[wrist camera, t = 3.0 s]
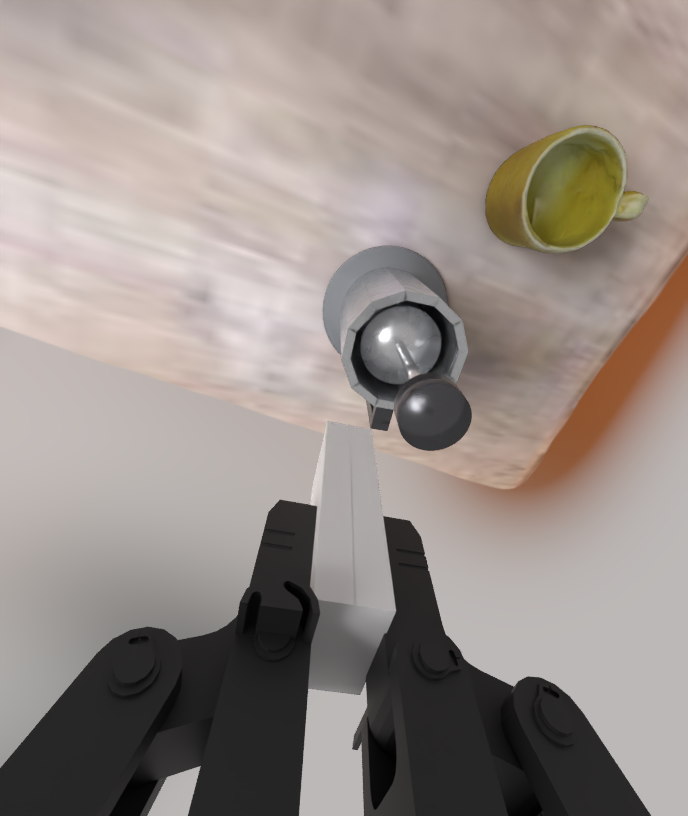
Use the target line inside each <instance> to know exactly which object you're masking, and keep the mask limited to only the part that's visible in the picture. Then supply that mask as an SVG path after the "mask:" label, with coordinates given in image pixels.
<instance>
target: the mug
mask: <svg viewBox="0 0 688 816" xmlns="http://www.w3.org/2000/svg"><path fill="white" fill-rule="evenodd" d="M626 182H627V161H626V155H625V151H624V149H623V147H622V145H621V144H620V142H619V141H618V139H617V138H616V137H615V136H613V135H612V134H611V133H610V132H609V131H607V130H605V129H603V128H600V127H597V126H591V125H583V126H577V127H573V128H570V129H567V130H564V131H561V132H558V133H555V134H552V135H550V136H547V137H545V138H543V139H541V140H539V141H537V142H535V143H533V144H531V145H529V146H527V147H525V148H523V149H521V150H519V151H518V152H516V153H515V154H513V155H512V156H511V157H510V158H508V159H507V160H506V161H505V162H504V163H503V164H502V165H501V166H500V168H499V169H498V170H497V172H496V173H495V175H494V177H493V179H492V181H491V183H490V185H489V188H488V191H487V195H486V218H487V222H488V224H489V226H490V229H491V230H492V231H493V233H494V234H495V235H496V236H497V237H498V238H499V239H501V240H502V241H504V242H506V243H508V244H511V245H514V246H521V247H527V248H531V249H534V250H537V251H540V252H545V253H567V252H571V251H575V250H577V249H580V248H582V247H584V246H585V245H587V244H589V243H590V242H592V241H594V240H595V239H596V238H597V237H599V236H600V235H601V234H602V233H603V232H604V230H605V229H606V228H607V227H608V225H609V224H610V222H611V221H629V220H632V219H635V218H637V217H638V216H639V215H640V214H641V212H642V210H643V209H644V206H645V205H646V203H647V201H648V196H646V195H644V194H642V193H639V192H635V191H627V192H624V188H625V185H626Z"/></svg>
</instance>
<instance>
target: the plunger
mask: <svg viewBox="0 0 688 816" xmlns="http://www.w3.org/2000/svg"><path fill="white" fill-rule="evenodd" d="M440 348H441V337H440V332H439V329H438V327H437V325H436V323H435V322H434V321H433V319H432V318H431V317H430V316H429V315H428V314H427V313H426V312H424V311H423V310H421V309H419V308H417V307H415V306H411V305H393V306H390V307H387V308H385V309H383V310H381V311H379V312H378V313H376V314H375V315H374V316H373V317H372V318H371V319H370V320H369V321H368V323H367V324H366V326H365V328H364V330H363V332H362V335H361V340H360V350H361V356H362V360H363V362H364V364H365V366H366V368H367V369H368V370H369V372H370V373H371V374H372V375H373V376H375V377H376V378H378V379H380V380H381V381H384V382H387V383H392V384H403V385H402V386H401V388H400V389H399V390H398V392H397V394H396V397H395V400H394V411H395V415H396V419H397V422H398V426H399V429H400V432H401V435H402V436H403V438H404V439H405V440H406V441H407V442H408V443H409V444H410V445H412V446H414V447H416V448H418V449H421V450H428V451H434V450H440V449H444V448H447V447H449V446H451V445H453V444H455V443H456V442H457V441H459V440H460V439H461V438H462V437H463V436H464V435H465V433H466V432H467V430H468V428H469V426H470V423H471V418H472V413H471V408H470V405H469V403H468V401H467V400H466V398H465V397H464V395H463V394H462V392H461V391H460V389H459V388H458V387H457V385H456V384H455V383H454V381H453V380H451V379H450V378H448V377H447V376H445V375H442V374H438V373H427V372H428V371H429V370H430V369H431V368H432V367H433V365H434V364H435V362H436V360H437V358H438V356H439V353H440Z"/></svg>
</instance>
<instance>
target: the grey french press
mask: <svg viewBox="0 0 688 816" xmlns="http://www.w3.org/2000/svg"><path fill="white" fill-rule="evenodd" d="M393 305H411V306H415V307H417V308H419V309H421V310H423V311H424V312H426V313H427V314H428V315H429V316H430V317H431V318H432V319H433V321H434V322H435V323H436V325H437V327H438V329H439V332H440V337H441V348H440V353H439V356H438V358H437V360H436V362H435V364H434V365H433V367H432V368H431V369H430V370H429V371H428V372H427V373H438V374H442V375H445V376H447V377H448V378H450V379H451V380H453V381H454V383H456V382H457V381H458V378H459V376H460V373H461V370H462V368H463V365H464V362H465V360H466V357H467V354H468V347H467V341H466V336H465V331H464V325H463V321H462V319H461V318H460V317H459V316H458V315H457V314H456V313H455V312H454V311H453V310H452V309H451V308H450V307H449V306H448V305H447V304H446V303H445V302H444V301H443V300H442V299H441V298H440V297H439V296H437V295H436V294H435V293H434V292H433V291H431V290H430V289H429V288H428V287H427V286H425V285H424V284H423V283H422V282H421V281H419V280H418V279H417V278H416V277H415V276H414V275H412V274H411V273H410V272H406V271H403V270H400V269H397V268H387V267H384V268H378V269H375V270H372V271H369V272H367V273H365V274H364V275H362V276H361V277H359V278H358V279H357V280H356V281H355V282H354V283H353V284H352V285H351V287H350V288H349V290H348V291H347V293H346V294H345V297H344V301H343V304H342V312H341V317H340V332H341V360H342V363H343V366H344V369H345V372H346V374H347V377H348V380H349V383H350V386H351V388H352V389H353V390H354V391H356V392H357V393H358V394H359V395H361V396H362V397H363V398H364V399H366V402H367V409H368V415H369V422H370V428H372V429H378V430H384V431H387V430H388V427H389V424H390V420H391V417H392V413H393V410H394V400H395V397H396V394H397V392H398V390H399V389H400V388H401V386H402V385H403V384H392V383H387V382H384V381H381V380H380V379H378V378H376V377H375V376H373V375H372V374H371V373H370V372H369V370H368V369H367V368H366V366H365V364H364V362H363V360H362V356H361V350H360V340H361V335H362V332H363V330H364V328H365V326H366V324H367V323H368V321H369V320H370V319H371V318H372V317H373V316H374V315H375V314H376V313H378V312H379V311H381V310H383V309H385V308H387V307H390V306H393Z"/></svg>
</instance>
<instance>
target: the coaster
mask: <svg viewBox="0 0 688 816" xmlns="http://www.w3.org/2000/svg"><path fill="white" fill-rule="evenodd" d="M384 267H387V268H397V269H400V270H403V271H406V272H410V273H411V274H412V275H414V276H415V277H416V278H417V279H418V280H419V281H421V282H422V283H423V284H424V285H425V286H427V287H428V288H429V289H430V290H431V291H433V292H434V293H435V294H436V295H437V296H439V297H440V298H441V299H442V300H443V301H444V302H445V303H446V304H447V296H446V291H445V287H444V284H443V282H442V280H441V277H440V276H439V274H438V272H437V271H436V270H435V268H434V267H433V266H432V265H431V264H430V263H429V262H428V261H427V260H426V259H425V258H423V257H422V256H420V255H419V254H417V253H415V252H413V251H411V250H409V249H405V248H402V247H397V246H379V247H373V248H370V249H366V250H364V251H362V252H359V253H358V254H356V255H354V256H353V257H351V258H350V259H349V260H347V261H346V262H345V263H344V264H343V265H342V266H341V267H340V268H339V269H338V270H337V272H336V273H335V274H334V276H333V277H332V279H331V281H330V283H329V285H328V288H327V290H326V293H325V298H324V303H323V321H324V326H325V330H326V333H327V335H328V338H329V340H330V342H331V343H332V345H333V347H334V348H335V349H336V350H337V352H338V353H339V354H340V355H341V332H340V317H341V312H342V304H343V301H344V297H345V294H346V293H347V291H348V290H349V288H350V287H351V285H352V284H353V283H354V282H355V281H356V280H357V279H358V278H359V277H361V276H362V275H364V274H365V273H367V272H369V271H372V270H375V269H378V268H384Z"/></svg>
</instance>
